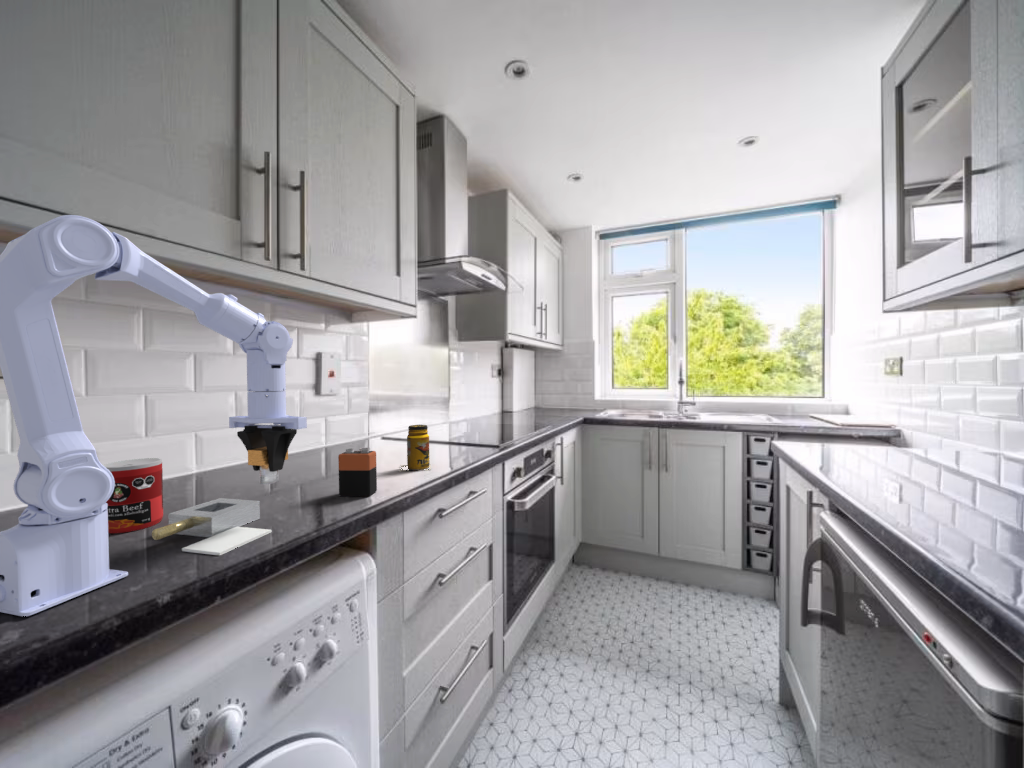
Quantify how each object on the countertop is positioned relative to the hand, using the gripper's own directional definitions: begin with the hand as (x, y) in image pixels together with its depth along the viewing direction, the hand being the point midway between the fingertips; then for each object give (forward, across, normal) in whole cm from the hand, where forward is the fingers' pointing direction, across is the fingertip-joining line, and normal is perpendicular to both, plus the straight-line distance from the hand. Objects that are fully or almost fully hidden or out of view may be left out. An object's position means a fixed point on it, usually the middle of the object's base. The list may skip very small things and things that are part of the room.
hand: (268, 470), depth 71 cm
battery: (+10, -4, -19) cm, 22 cm away
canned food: (+10, +23, +6) cm, 25 cm away
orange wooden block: (+2, 0, 0) cm, 2 cm away
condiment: (+10, -4, -45) cm, 46 cm away
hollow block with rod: (+9, +8, +5) cm, 14 cm away
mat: (+9, 0, +8) cm, 12 cm away
